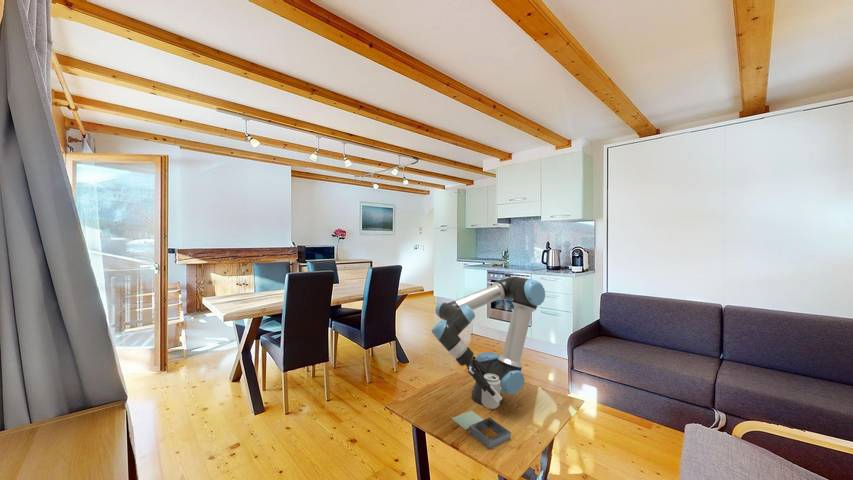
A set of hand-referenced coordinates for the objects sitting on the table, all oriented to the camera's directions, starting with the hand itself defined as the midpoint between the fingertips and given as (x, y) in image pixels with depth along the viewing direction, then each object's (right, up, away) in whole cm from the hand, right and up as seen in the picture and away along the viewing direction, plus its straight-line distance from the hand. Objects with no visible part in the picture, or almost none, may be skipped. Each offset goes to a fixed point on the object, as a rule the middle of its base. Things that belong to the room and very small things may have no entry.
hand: (499, 395), depth 130 cm
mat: (-11, -17, +12) cm, 24 cm away
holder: (-4, -17, +1) cm, 18 cm away
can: (-3, -4, +1) cm, 6 cm away
